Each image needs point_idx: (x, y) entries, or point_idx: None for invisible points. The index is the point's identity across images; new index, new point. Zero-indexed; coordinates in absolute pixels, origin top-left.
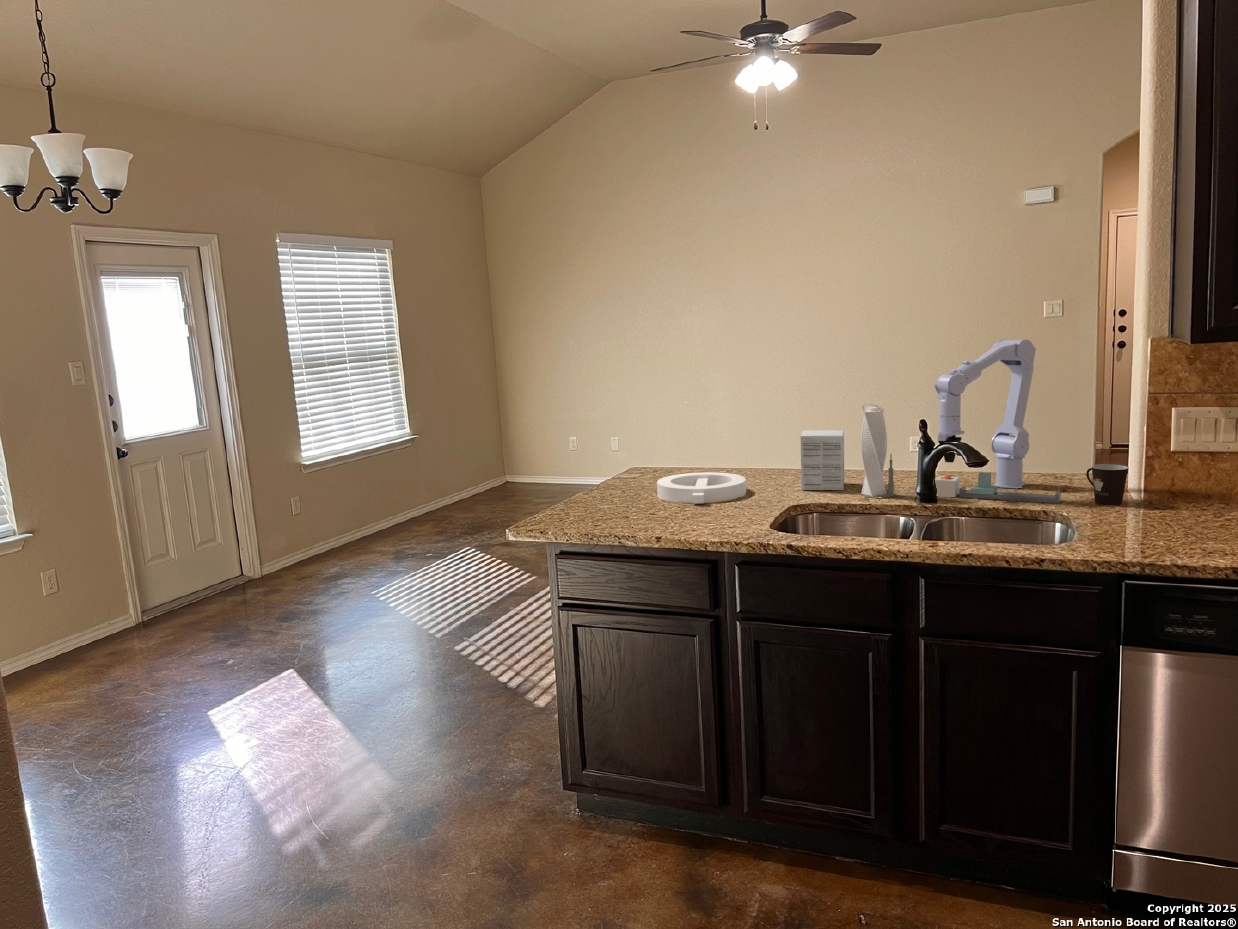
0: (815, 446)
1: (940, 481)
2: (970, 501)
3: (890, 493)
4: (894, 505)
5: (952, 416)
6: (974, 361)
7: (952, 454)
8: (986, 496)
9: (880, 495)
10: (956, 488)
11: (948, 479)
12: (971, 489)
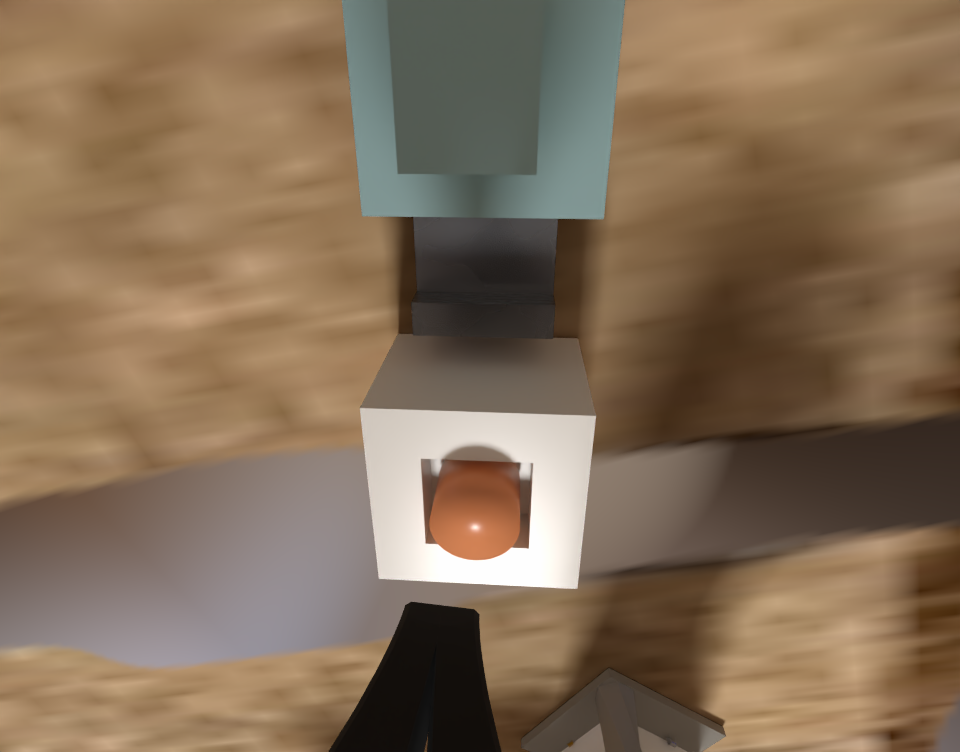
0: None
1: (580, 529)
2: (710, 181)
3: (633, 704)
4: (922, 634)
5: None
6: None
7: (490, 742)
8: None
9: (659, 729)
10: (516, 368)
11: (513, 483)
12: (603, 214)
